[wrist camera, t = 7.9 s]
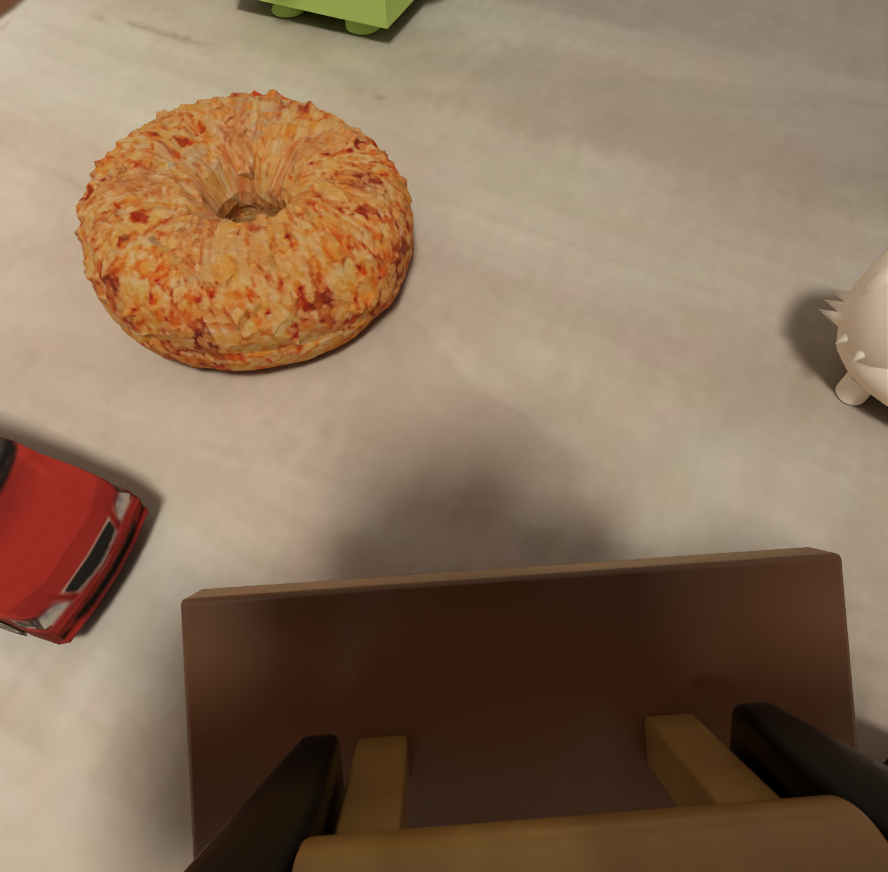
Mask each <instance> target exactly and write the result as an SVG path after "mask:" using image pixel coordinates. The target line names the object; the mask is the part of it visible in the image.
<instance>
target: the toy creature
mask: <svg viewBox="0 0 888 872" xmlns="http://www.w3.org/2000/svg"><path fill="white" fill-rule="evenodd" d="M830 290H831V291H832V292H833V293H834V294H836V295H837V296H838V297H839V298H840V299H841V300H843V301H844V302H842V301H833V300H825V301H826V302H827V303H828V304H829V305H831V306H832V307H833V308H834V309H835V310H836V311H829V310H821V309H818V310H820V311H821V312H822V313H823V314H824V315H825V316H826V317H828V318H829V319H830V320H831V321H832V322H833V323H834V324H836V325H837V326H838V332H837V341H836V343H835V344H836V348H837V350H838V353H839V355H840V357H841V359H842V361H843V363H844V366H845V368H846V370H847V371H848V372H847V373H846V375H845V376H844V377H843V378H842V379H841V381H840V382H839V383H838V384H837V385H836V388H835V391H836V394H837V396H838V398H839V399H840V400H841V401H843V402H844V403H846V404H849V405H860V404H862V403H864V402H865V401H866V400H867V398H868V397H869V396H870V395H872V396H874V397H875V398H876V399H878V400H879V401H880V402H882V403H883V404H884V405H886V406H887V407H888V250H887V251H886V252H885V253H884V254H883V255H882V256H881V257H880V258H879V259H878V260H877V261H876V262H875V263H874V264H873V265H872V266H871V267H870V268H869V269H868V270H867V271H866V272H865V273H864V274H863V275H862V277H861V278H860V279H859V280H858V281H857V283H856V284H855V285H854V287H853V288H852V290H851V291H841V290H832V289H830Z"/></svg>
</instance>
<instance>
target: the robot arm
mask: <svg viewBox="0 0 888 872" xmlns="http://www.w3.org/2000/svg"><path fill="white" fill-rule="evenodd" d="M730 750H731V751H732V752H733V753H734V754H735V755H736V756H737V757H738V758H739V759H740V760H741V761H742V762H743V763H744V764H745V765H747V766H748V767H749V768H750V769H751V770H752V771H753V772H754V773H755V774H756V775H757V776H758V777H759V778H760V779H761V780H762V781H763V782H764V783H765V784H766V785H768V786H769V787H770V788H771V789H772V790H773V791H774V792H775V793H776V794H777V795H778V796H779V797H780V798H781V799H783V798H795V797H807V796H820V795H833V796H837V797H840V798H842V799H845V800H847V801H849V802H851V803H852V804H853V805H855V806H856V807H858V808H859V809H860V810H861V811H862V812H863V813H864V814H866V816H867V817H868V818H869V819H870V820H871V821H872V822H873V823H874V824H875V826H876V827H877V828H878V829H879V831H880V832H881V833H882V835H883V836H884V837H885V839H886V840H887V842H888V766H887V765H885V764H883V763H881V762H879V761H877V760H875V759H874V758H872V757H870V756H868V755H866V754H864V753H862V752H861V751H859V750H857V749H855V748H853V747H851V746H849V745H848V744H846V743H844V742H842V741H840V740H838V739H836V738H835V737H833V736H831V735H829V734H827V733H825V732H823V731H822V730H820V729H818V728H816V727H814V726H812V725H810V724H809V723H807V722H805V721H803V720H801V719H799V718H797V717H796V716H794V715H792V714H790V713H788V712H786V711H784V710H783V709H781V708H779V707H777V706H775V705H773V704H771V703H768V702H755V703H742V704H738V705H737V706H735V707H734V709H733V712H732V720H731V738H730ZM344 793H345V792H344V782H343V773H342V763H341V754H340V745H339V740H338V738H337V737H336V736H335V735H334V734H328V735H314V736H306V737H304V738H303V739H301V740H300V742H299V743H298V744H297V745H296V746H295V747H294V748H293V749H292V750H291V752H290V753H289V754H288V755H287V756H286V757H285V758H284V759H283V761H282V762H281V763H280V764H279V765H278V766H277V767H276V768H275V770H274V771H273V772H272V773H271V774H270V775H269V776H268V777H267V779H266V780H265V781H264V782H263V783H262V784H261V785H260V786H259V788H258V789H257V790H256V791H255V792H254V793H253V794H252V795H251V797H250V798H249V799H248V800H247V801H246V802H245V803H244V804H243V806H242V807H241V808H240V809H239V810H238V811H237V812H236V813H235V815H234V816H233V817H232V818H231V819H230V820H229V821H228V822H227V823H226V825H225V826H224V827H223V828H222V829H221V830H220V831H219V832H218V834H217V835H216V836H215V837H214V838H213V839H212V840H211V841H210V843H209V844H208V845H207V846H206V847H205V848H204V849H203V850H202V852H201V853H200V854H199V855H198V856H197V857H196V858H195V859H194V861H193V862H192V863H191V864H190V865H189V866H188V867H187V868H186V870H185V871H184V872H292V868H293V864H294V861H295V857H296V854H297V852H298V849H299V847H300V845H301V843H302V842H303V841H304V840H305V839H307V838H309V837H311V836H323V835H334V833H335V829H336V825H337V821H338V817H339V813H340V809H341V805H342V801H343V797H344Z"/></svg>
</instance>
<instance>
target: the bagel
mask: <svg viewBox="0 0 888 872" xmlns="http://www.w3.org/2000/svg"><path fill="white" fill-rule="evenodd" d="M94 163H95V166H96V168H95V170H94V171H93V172H92V173H89V175H90V177H91V179H92V180H91V181H90V182H89V183H88V185H87V189H86V192H85V194H84V196H83V197H82V198H81V199H80V200H79V203H78V204H77V205H76V211H77V217H78V219H79V221H80V222H81V225H80V226H79V227H78V229H77V230H76V231H75V232H74V233H75V234H76V235H77V236H78V240H79V241H80V242H81V244H82V249H83V255H84V261H83V263H84V266H85V271H84V274H85V275H86V279H88V280H89V281H91V282H92V285H93V288H94V290H95V292H96V294H97V296H98V299H99V300H100V302H101V303H102V304H103V306H104V307H105V309H106V310H107V312H108V313H109V314H110V316H111V317H112V319H113V320H114V321H116V322H117V323H118V324H119V325H120V326H121V327H122V329H123V330H124V331H125V332H126V333H127V334H128V335H130V336H131V337H132V338H133V339H135V340H136V341H137V342H138V343H140V344H141V345H142V346H144V347H146V348H147V349H149V350H151V351H153V352H155V353H157V354H159V355H160V356H162V357H164V358H166V359H170V360H174V361H178V362H181V363H183V364H186V365H188V366H191V367H199V368H214V369H217V370H224V371H245V370H258V369H264V368H271V367H276V366H281V365H286V364H291V363H296V362H301V361H306V360H310V359H312V358H314V357H316V356H318V355H320V354H322V353H325V352H327V351H330V350H332V349H335V348H338V347H339V346H341V345H343V344H344V343H346V342H348V341H349V340H351V339H353V338H354V337H355V336H356V335H357V334H358V333H360V332H361V331H362V330H363V329H364V328H365V327H366V326H367V325H368V324H369V323H370V322H372V321H373V320H374V319H375V318H376V317H377V316H378V315H379V314H380V313H381V312H382V311H383V310H384V309H386V308H388V307H389V306H390V305H391V303H392V302H393V300H394V299H395V298H396V296H397V295H398V292H399V289H400V286H401V284H402V282H403V280H404V278H405V276H406V272H407V269H408V266H409V262H410V259H411V256H412V253H413V250H414V241H413V213H412V210H411V206H410V205H411V203H412V199H411V196H410V194H409V192H408V189H407V179H405V178H404V177H402V176H400V174H399V172H398V171H397V169H396V168H395V166H394V162H392V161H390V160H389V159H388V154H386V152H385V151H381V150H380V149H379V148H378V146H377V145H376V143H375V142H374V140H372V139H371V138H369V137H368V136H366V135H364V134H363V133H362V132H361V130H360V129H359V128H354V127H350V126H349V125H347V124H346V123H345V122H344V121H343V120H342V119H340V118H338V117H337V116H335V115H333V114H331V113H327V112H325V111H322V110H319V109H317V107H316V106H315V105H314V104H313V103H312V102H311V101H308V102H306V103H304V104H303V103H300V102H297V101H294V100H291V99H288V98H285V97H283V96H282V95H281V94H280V93H278V92H277V91H276V90H275V89H274V90H269V91H268V93H267V94H266V95H262V94H260V93H258V92H256V91H254V90H253V93H251V94H247V93H231V94H230V95H229V96H228V97H214V98H212V99H204V100H197V103H195V104H190V105H187V104H181V105H180V106H179V107H178V109H174V110H172V111H170V112H168V111H166V110H162V111H159V112H157V114H156V119H155V120H153V121H151V122H149V123H147V124H144V125H143V126H142V127H141V128H140V129H136V130H134V131H132V132H130V134H129V135H128V136H127V137H126V138H123V139H121V140H119V141H116V147H115V149H114V150H112V151H110V152H107V154H106V157H104V158H103V159H102V160H98V161H94Z"/></svg>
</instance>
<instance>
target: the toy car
mask: <svg viewBox="0 0 888 872" xmlns="http://www.w3.org/2000/svg"><path fill="white" fill-rule="evenodd" d="M148 512H149V511H148V509H147V508H146V507H144V506H143V505H142V503H141V501H140V499H139V498H137V497H136V496H135V495H134V494H132V493H131V492H130V491H128V490H126V489H123V488H121V487H118V486H116V485H113V484H111V483H110V482H108V481H107V480H105V479H103V478H101V477H99V476H96V475H94V474H92V473H90V472H87V471H85V470H83V469H80V468H78V467H76V466H73V465H71V464H68V463H65V462H62V461H59V460H57V459H54V458H51V457H48V456H45V455H43V454H40V453H38V452H36V451H34V450H31V449H29V448H27V447H25V446H23V445H21V444H19V443H16V442H14V441H12V440H9V439H5V438H2V437H0V628H3V629H5V630H8V631H11V632H14V633H17V634H21V635H25V636H27V635H26V634H25V633H23V632H27V633H29V634H31V635H33V636H35V637H38V638H41V639H44V640H47V641H50V642H53V643H56V644H64V643H69V642H71V641H72V639H73V638H74V637H75V635H76V634H77V633H78V631H79V630H80V629H81V627H82V626H83V625H84V624H85V622H86V621H87V620H88V618H89V617H90V616H91V614H92V613H93V612H94V610H95V609H96V608H97V606H98V605H99V603H100V601H101V600H102V598H103V597H104V595H105V594H106V592H107V591H108V589H109V588H110V586H111V585H112V583H113V582H114V580H115V579H116V577H117V576H118V574H119V572H120V570H121V568H122V566H123V565H124V563H125V561H126V559H127V557H128V555H129V553H130V551H131V549H132V547H133V546H134V544H135V542H136V539H137V537H138V535H139V533H140V530H141V528H142V526H143V523H144V521H145V519H146V517H147V514H148ZM21 631H23V632H21Z"/></svg>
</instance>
